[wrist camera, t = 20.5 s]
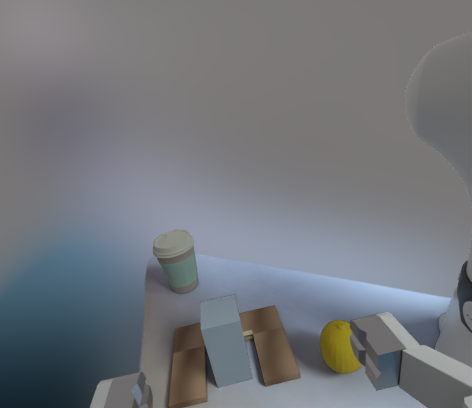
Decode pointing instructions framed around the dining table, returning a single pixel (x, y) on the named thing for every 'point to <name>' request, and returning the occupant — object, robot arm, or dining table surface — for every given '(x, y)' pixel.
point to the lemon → (338, 347)
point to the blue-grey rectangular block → (225, 340)
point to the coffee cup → (177, 259)
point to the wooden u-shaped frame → (254, 327)
